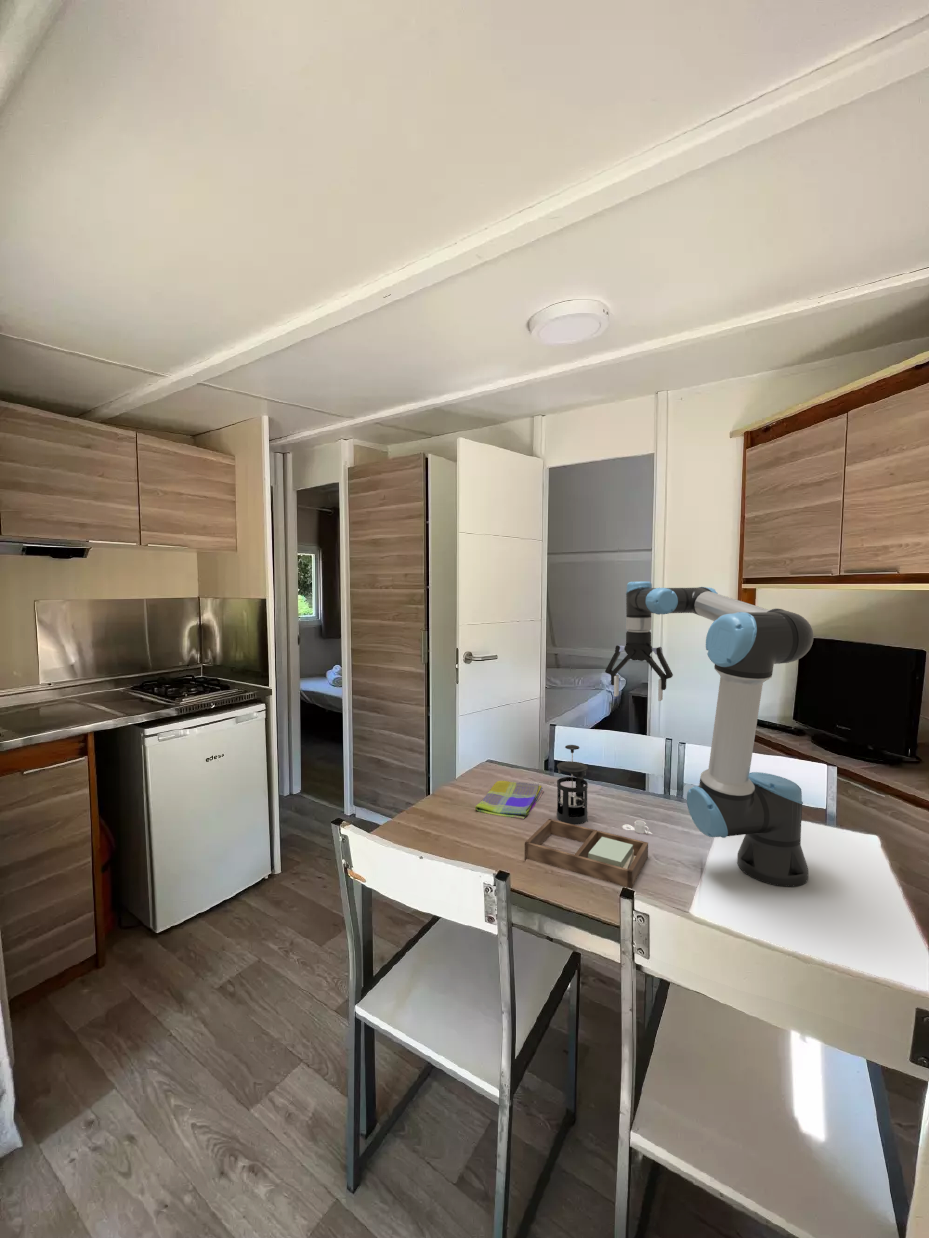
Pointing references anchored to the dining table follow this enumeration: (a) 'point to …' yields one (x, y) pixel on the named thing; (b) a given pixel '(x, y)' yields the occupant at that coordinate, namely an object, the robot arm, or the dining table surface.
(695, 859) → the dining table surface
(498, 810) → the dish towel
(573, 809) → the french press
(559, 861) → the walnut tray
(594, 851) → the sage offcut top
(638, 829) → the teacup and saucer
